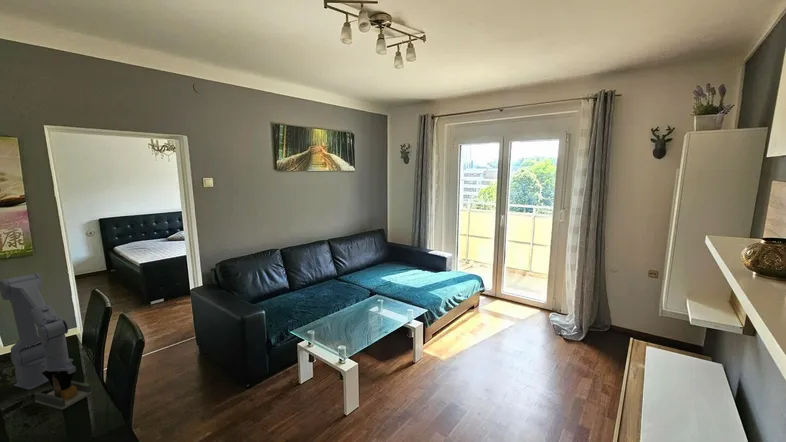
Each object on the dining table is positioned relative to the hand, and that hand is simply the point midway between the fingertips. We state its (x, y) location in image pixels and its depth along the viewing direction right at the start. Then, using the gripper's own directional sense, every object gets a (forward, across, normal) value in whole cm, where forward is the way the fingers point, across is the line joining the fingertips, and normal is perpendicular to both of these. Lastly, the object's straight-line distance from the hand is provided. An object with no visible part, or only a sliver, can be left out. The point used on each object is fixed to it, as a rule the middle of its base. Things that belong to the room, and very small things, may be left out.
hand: (61, 387), depth 121 cm
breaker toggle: (+3, -4, 0) cm, 5 cm away
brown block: (+2, 0, 0) cm, 2 cm away
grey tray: (+4, 0, 0) cm, 4 cm away
